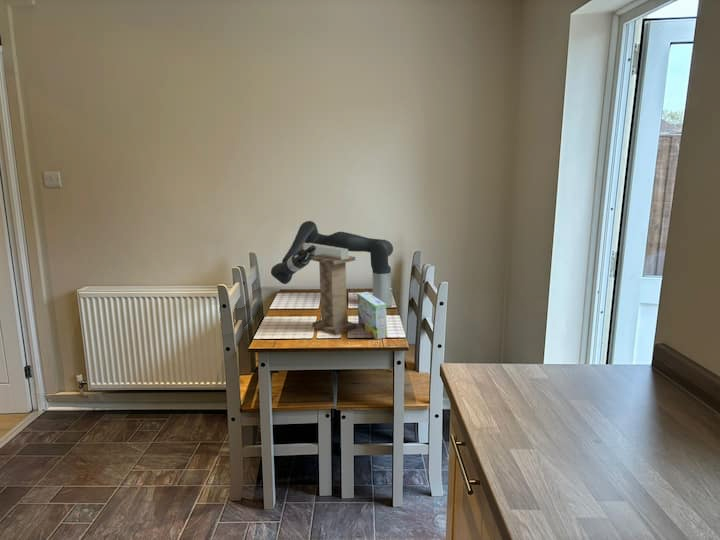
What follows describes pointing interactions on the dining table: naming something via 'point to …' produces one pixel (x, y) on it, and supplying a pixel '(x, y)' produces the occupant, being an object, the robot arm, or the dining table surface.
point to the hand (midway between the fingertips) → (317, 246)
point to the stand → (333, 295)
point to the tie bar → (328, 251)
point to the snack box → (372, 315)
